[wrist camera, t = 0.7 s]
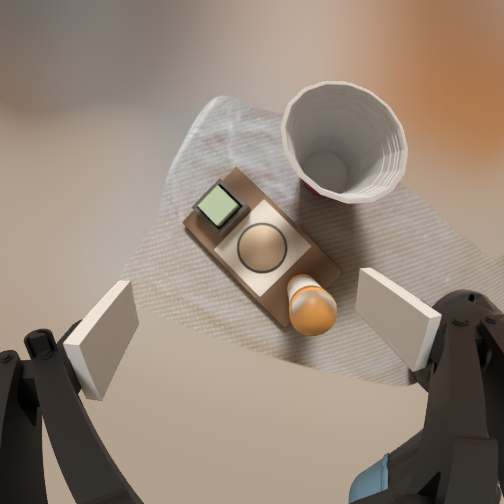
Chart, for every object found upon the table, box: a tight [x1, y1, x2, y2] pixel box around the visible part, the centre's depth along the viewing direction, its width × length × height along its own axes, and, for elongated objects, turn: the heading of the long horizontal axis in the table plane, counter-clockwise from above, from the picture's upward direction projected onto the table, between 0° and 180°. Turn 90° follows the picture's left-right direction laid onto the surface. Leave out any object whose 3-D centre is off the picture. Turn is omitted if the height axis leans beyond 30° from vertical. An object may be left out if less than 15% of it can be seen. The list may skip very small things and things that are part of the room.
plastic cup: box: [280, 81, 408, 204], centre depth 24 cm, size 11×11×12 cm
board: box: [182, 167, 343, 328], centre depth 30 cm, size 17×9×3 cm, turn 45°
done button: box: [198, 185, 241, 227], centre depth 29 cm, size 3×3×2 cm
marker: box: [287, 274, 337, 336], centre depth 24 cm, size 3×3×12 cm
